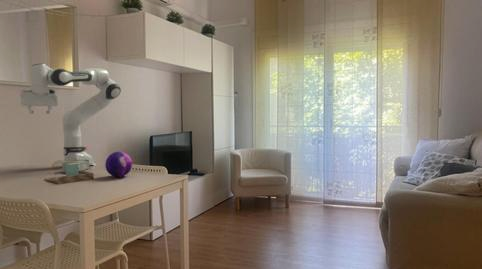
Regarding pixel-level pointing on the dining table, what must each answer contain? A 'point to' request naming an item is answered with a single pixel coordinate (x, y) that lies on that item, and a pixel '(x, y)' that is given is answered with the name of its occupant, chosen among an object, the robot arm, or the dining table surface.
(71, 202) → the dining table surface
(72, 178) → the tray
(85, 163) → the coffee box
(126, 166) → the decorative orb
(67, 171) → the teal block
